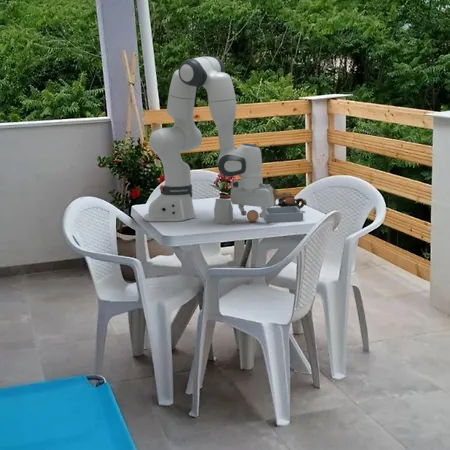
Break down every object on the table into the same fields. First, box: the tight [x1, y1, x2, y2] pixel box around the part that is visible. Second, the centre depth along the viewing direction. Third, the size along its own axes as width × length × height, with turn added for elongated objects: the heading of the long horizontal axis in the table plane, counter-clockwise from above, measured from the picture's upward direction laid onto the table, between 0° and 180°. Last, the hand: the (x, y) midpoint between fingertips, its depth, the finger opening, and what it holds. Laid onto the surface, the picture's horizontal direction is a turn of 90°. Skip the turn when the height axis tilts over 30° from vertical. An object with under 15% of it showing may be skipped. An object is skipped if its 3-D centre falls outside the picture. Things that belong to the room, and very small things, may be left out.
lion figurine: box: [273, 188, 293, 207], centre depth 357 cm, size 15×5×9 cm, turn 96°
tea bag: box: [213, 198, 234, 225], centre depth 322 cm, size 4×7×10 cm, turn 60°
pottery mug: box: [277, 195, 306, 210], centre depth 342 cm, size 12×10×8 cm
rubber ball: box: [246, 209, 260, 223], centre depth 323 cm, size 5×5×5 cm
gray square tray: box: [263, 206, 304, 224], centre depth 328 cm, size 15×15×4 cm
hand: (252, 216), depth 322 cm, fingers open, 8 cm apart
